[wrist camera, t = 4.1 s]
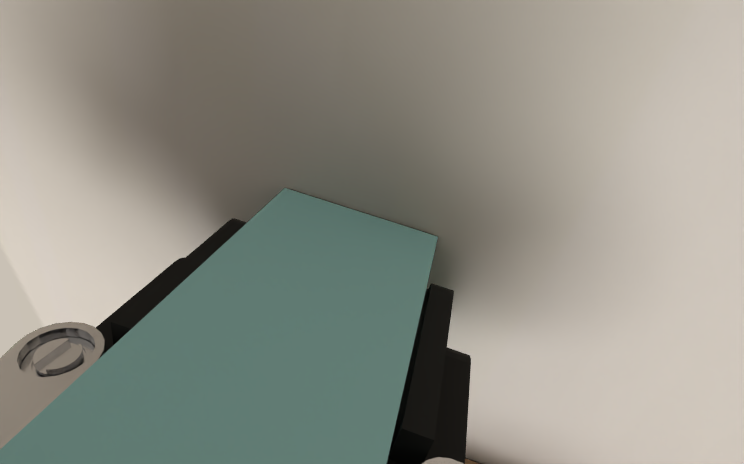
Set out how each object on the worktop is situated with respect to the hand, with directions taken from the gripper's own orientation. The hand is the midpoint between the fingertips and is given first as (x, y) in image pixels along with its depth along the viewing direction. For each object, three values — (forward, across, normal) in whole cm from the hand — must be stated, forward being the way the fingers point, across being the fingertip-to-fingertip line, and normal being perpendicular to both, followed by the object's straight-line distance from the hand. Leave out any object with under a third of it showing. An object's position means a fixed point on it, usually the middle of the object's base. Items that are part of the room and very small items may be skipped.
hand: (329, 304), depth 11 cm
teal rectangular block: (+1, 0, 0) cm, 1 cm away
